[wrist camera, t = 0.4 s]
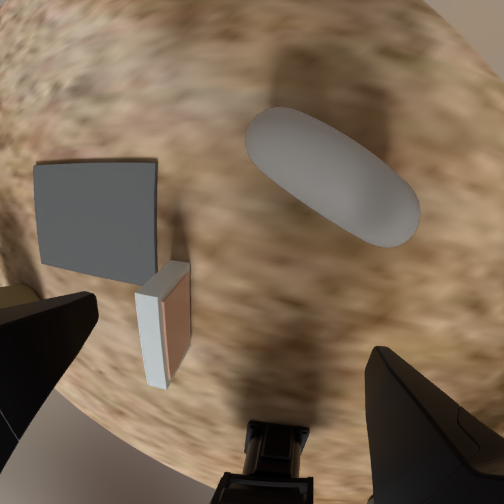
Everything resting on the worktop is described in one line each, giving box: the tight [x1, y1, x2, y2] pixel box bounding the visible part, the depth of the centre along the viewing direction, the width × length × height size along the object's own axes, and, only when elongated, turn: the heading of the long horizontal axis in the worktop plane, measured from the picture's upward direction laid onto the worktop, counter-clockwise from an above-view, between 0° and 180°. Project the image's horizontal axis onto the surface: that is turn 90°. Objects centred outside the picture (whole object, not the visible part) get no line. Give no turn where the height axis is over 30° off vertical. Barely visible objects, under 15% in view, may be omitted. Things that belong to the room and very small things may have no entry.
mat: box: [33, 162, 158, 286], centre depth 23 cm, size 10×14×1 cm
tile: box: [135, 260, 191, 390], centre depth 22 cm, size 8×2×6 cm, turn 175°
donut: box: [245, 107, 421, 248], centre depth 15 cm, size 10×4×10 cm, turn 60°
